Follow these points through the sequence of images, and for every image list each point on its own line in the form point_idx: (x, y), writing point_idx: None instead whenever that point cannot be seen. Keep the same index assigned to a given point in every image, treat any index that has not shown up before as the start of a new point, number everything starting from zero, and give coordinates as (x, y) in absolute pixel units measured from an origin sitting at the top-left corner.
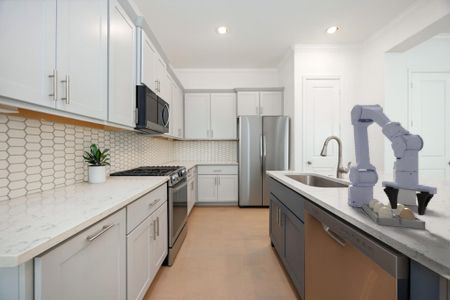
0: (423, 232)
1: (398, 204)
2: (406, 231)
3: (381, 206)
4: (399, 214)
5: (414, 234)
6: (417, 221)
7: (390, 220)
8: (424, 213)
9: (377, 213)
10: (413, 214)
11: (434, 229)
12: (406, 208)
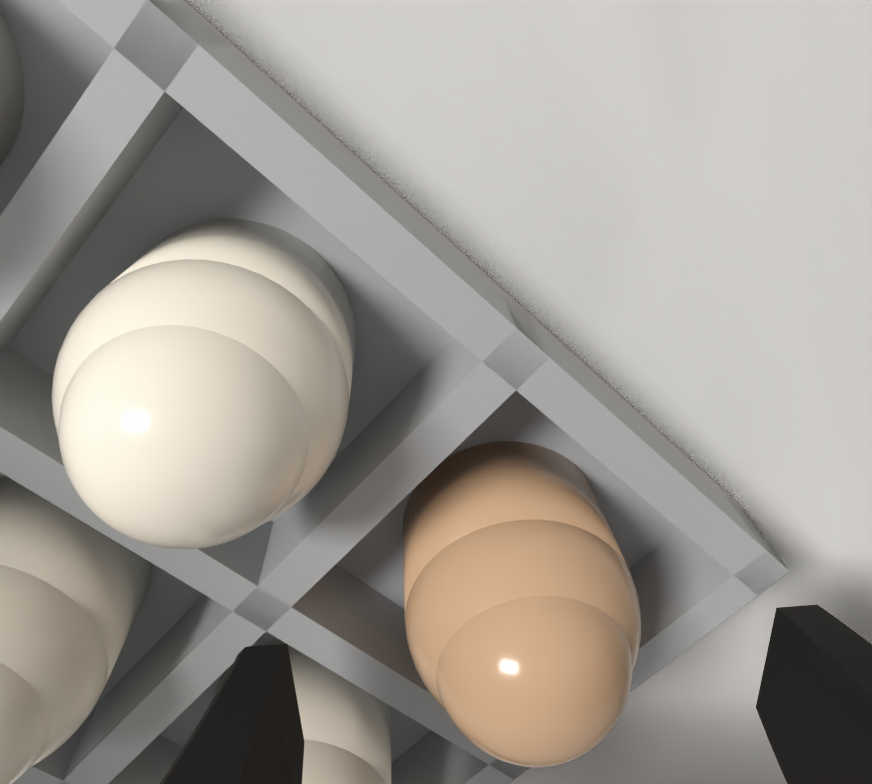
0: (766, 647)
1: (168, 536)
2: (640, 764)
3: (36, 759)
4: (342, 547)
5: (728, 772)
6: (699, 633)
7: None
8: (839, 624)
9: (131, 752)
10: (638, 640)
11: (824, 414)
12: (545, 758)
